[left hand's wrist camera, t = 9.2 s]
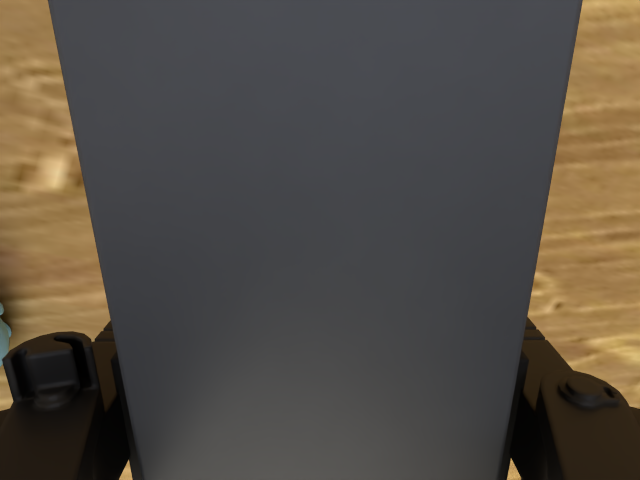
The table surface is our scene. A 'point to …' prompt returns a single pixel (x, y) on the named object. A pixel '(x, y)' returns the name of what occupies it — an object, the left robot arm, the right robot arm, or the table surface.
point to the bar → (317, 223)
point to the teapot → (3, 337)
